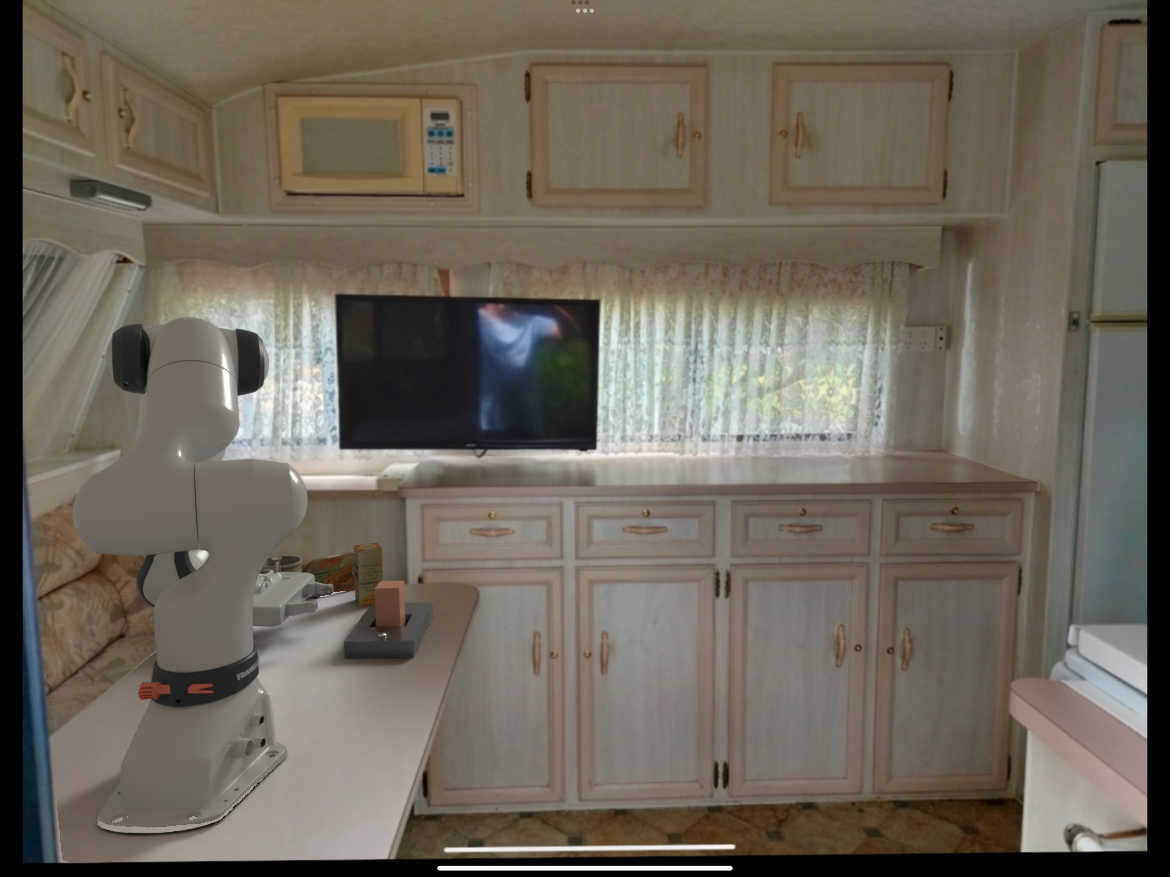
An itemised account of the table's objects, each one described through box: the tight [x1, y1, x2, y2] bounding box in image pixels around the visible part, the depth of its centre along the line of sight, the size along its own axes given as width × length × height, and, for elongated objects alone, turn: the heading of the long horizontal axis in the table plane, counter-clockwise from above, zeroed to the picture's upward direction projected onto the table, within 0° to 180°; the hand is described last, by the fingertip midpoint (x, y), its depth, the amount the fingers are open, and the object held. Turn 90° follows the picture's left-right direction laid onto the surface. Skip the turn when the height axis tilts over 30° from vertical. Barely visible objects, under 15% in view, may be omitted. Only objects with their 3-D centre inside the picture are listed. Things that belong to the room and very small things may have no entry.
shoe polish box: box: [353, 542, 384, 608], centre depth 158 cm, size 5×5×12 cm
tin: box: [302, 552, 355, 598], centre depth 164 cm, size 15×3×8 cm, turn 133°
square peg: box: [375, 580, 406, 627], centre depth 138 cm, size 4×4×10 cm
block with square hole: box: [343, 601, 434, 659], centre depth 139 cm, size 20×12×3 cm, turn 2°
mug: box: [261, 555, 307, 602], centre depth 153 cm, size 14×10×12 cm
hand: (324, 597), depth 137 cm, fingers open, 8 cm apart
